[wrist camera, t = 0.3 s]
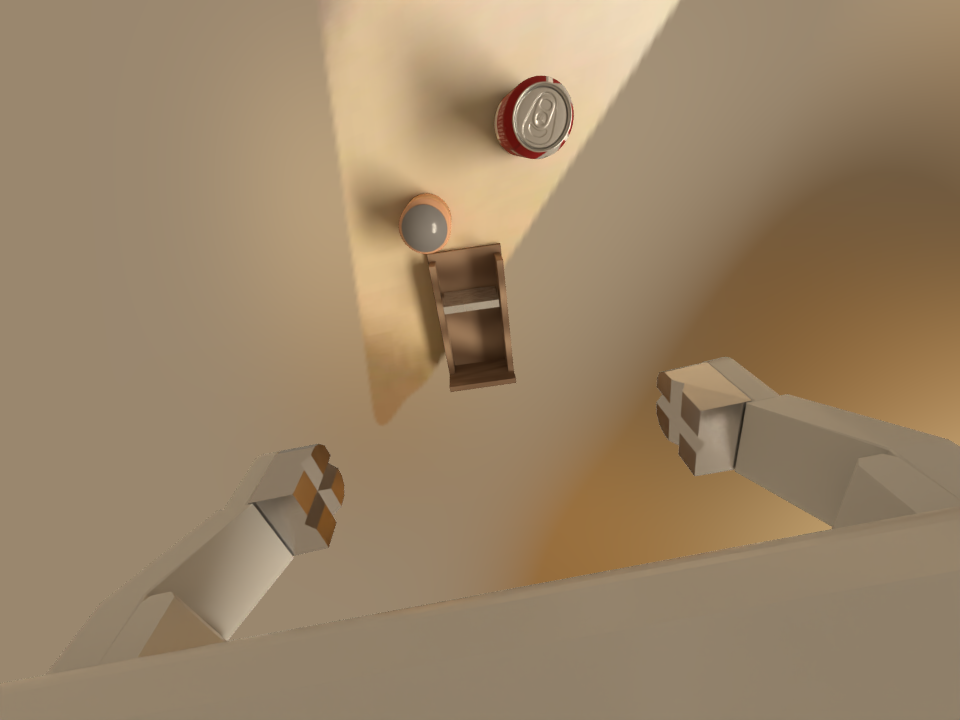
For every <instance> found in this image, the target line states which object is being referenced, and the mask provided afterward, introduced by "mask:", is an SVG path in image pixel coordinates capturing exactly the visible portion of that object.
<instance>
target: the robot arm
mask: <svg viewBox="0 0 960 720" xmlns="http://www.w3.org/2000/svg"><path fill="white" fill-rule="evenodd" d="M657 388H658V389H659V391H660V392H661V393H662V396H661V397H660V398H659V400H658V401H657V402H656V403H657V404H656V408H657V417H658V421H659V425H660V427H661V429H662V431H663V433H664V435H665V436H666V438H667V439H668V440H669V441H671V442H673V443H675V444H677V445H679V456H680V457H681V458H682V460H683V461H684V462H685V464H686V465H687V467H688V468H689V469H690V471H691V472H692V473H693V475H694V476H698V475H705V474H711V473H716V472H722V471H728V470H734V469H735V472H737V473H739V474H740V475H742V476H744V477H746V478H748V479H749V480H751V481H753V482H755V483H756V484H758V485H760V486H761V487H764V488H765V489H767V490H768V491H770V492H772V493H774V494H776V495H777V496H779V497H781V498H783V499H785V500H786V501H788V502H790V503H791V504H793V505H795V506H797V507H798V508H800V509H802V510H804V511H805V512H807V513H809V514H811V515H813V516H814V517H816V518H818V519H819V520H821V521H823V522H825V523H827V524H828V525H830V526H832V529H830V530H825V531H820V532H815V533H809V534H803V535H798V536H793V537H788V538H782V539H777V540H772V541H766V542H760V543H755V544H750V545H744V546H738V547H733V548H728V549H722V550H717V551H711V552H706V553H701V554H695V555H691V556H685V557H679V558H674V559H669V560H663V561H658V562H653V563H647V564H642V565H637V566H631V567H626V568H620V569H615V570H610V571H604V572H599V573H594V574H589V575H583V576H578V577H572V578H567V579H562V580H556V581H550V582H545V583H540V584H534V585H529V586H524V587H518V588H513V589H507V590H502V591H496V592H491V593H485V594H480V595H475V596H470V597H465V598H459V599H453V600H448V601H442V602H437V603H431V604H426V605H421V606H415V607H410V608H404V609H399V610H393V611H388V612H382V613H377V614H372V615H366V616H361V617H355V618H350V619H345V620H339V621H334V622H329V623H323V624H318V625H313V626H307V627H302V628H296V629H291V630H285V631H280V632H274V633H269V634H264V635H258V636H253V637H247V638H243V639H237V640H231V641H228V640H229V638H230V637H231V636H232V634H233V633H234V632H235V631H236V629H237V628H238V627H239V626H240V624H241V623H242V622H243V621H244V619H245V618H246V617H247V616H248V614H249V613H250V612H251V611H252V609H253V608H254V607H255V606H256V604H257V603H258V602H259V601H260V599H261V598H262V597H263V595H264V594H265V593H266V592H267V591H268V589H269V588H270V587H271V585H272V584H273V583H274V582H275V580H276V579H277V578H278V577H279V576H280V574H281V573H282V572H283V570H284V569H285V568H286V567H287V565H288V564H289V563H290V562H291V560H292V559H293V556H295V555H299V554H303V553H308V552H312V551H316V550H321V549H325V548H329V546H330V542H331V539H332V536H333V533H334V529H335V526H336V520H335V519H334V517H333V515H334V514H335V513H336V512H337V511H338V510H339V508H341V506H342V503H343V499H344V482H343V478H342V475H341V473H340V471H339V469H338V468H336V467H335V466H333V465H331V464H329V463H328V462H329V459H330V454H329V452H328V450H327V449H326V447H325V445H322V444H315V445H309V446H304V447H299V448H293V449H288V450H283V451H280V452H273V453H269V454H263V455H261V456H259V457H257V458H256V459H255V460H254V462H253V463H252V465H251V467H250V468H249V470H248V471H247V473H246V474H245V476H244V478H243V479H242V481H241V482H240V484H239V486H238V487H237V489H236V490H235V492H234V493H233V495H232V497H231V498H230V500H229V501H228V503H227V505H226V506H225V508H224V509H223V510H219V511H216V512H215V513H214V514H212V515H211V516H210V517H208V518H207V519H206V520H205V521H204V522H202V523H201V524H200V525H198V526H197V527H196V528H195V529H193V530H192V531H191V532H190V533H188V534H187V535H186V536H184V537H183V538H182V539H181V540H179V541H178V542H177V543H176V544H175V545H173V546H172V547H171V548H169V549H168V550H167V551H166V552H164V553H163V554H162V555H160V556H159V557H158V558H157V559H155V560H154V561H153V562H152V563H150V564H149V565H148V566H147V567H145V568H144V569H143V570H142V571H140V572H139V573H138V574H137V575H135V576H134V577H133V578H132V579H130V580H129V581H128V582H126V583H125V584H124V585H123V586H121V587H120V588H119V589H118V590H116V591H115V592H114V593H112V594H111V595H110V596H109V597H108V598H106V599H105V600H104V601H102V602H101V603H100V604H99V606H98V607H97V608H96V609H95V611H94V612H93V613H92V614H91V616H90V617H89V619H88V620H87V621H86V622H85V624H84V625H83V626H82V628H81V629H80V630H79V632H78V633H77V634H76V635H75V637H74V638H73V639H72V641H71V642H70V643H69V645H68V646H67V647H66V648H65V650H64V651H63V652H62V654H61V655H60V656H59V658H58V659H57V660H56V662H55V663H54V664H53V665H52V667H51V668H50V669H49V671H48V672H47V673H46V675H42V676H37V677H32V678H26V679H21V680H16V681H10V682H4V683H0V720H960V446H958V445H957V444H955V443H953V442H952V441H950V440H948V439H945V438H941V437H938V436H934V435H931V434H927V433H923V432H920V431H916V430H913V429H909V428H906V427H902V426H898V425H895V424H891V423H888V422H884V421H881V420H877V419H874V418H870V417H866V416H863V415H860V414H856V413H852V412H849V411H845V410H842V409H838V408H835V407H831V406H828V405H824V404H820V403H817V402H813V401H810V400H806V399H802V398H799V397H796V396H792V395H789V394H786V395H781V396H780V395H778V394H777V393H776V392H775V391H773V390H772V389H771V388H769V387H768V386H767V385H766V384H764V383H763V382H762V381H760V380H759V379H758V378H756V377H755V376H754V375H752V374H751V373H750V372H749V371H747V370H746V369H745V368H743V367H742V366H741V365H740V364H738V363H737V362H736V361H734V360H733V359H732V358H728V357H722V358H719V359H714V360H710V361H706V362H703V363H700V364H696V365H691V366H686V367H682V368H677V369H672V370H668V371H663V372H659V374H658V377H657Z"/></svg>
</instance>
